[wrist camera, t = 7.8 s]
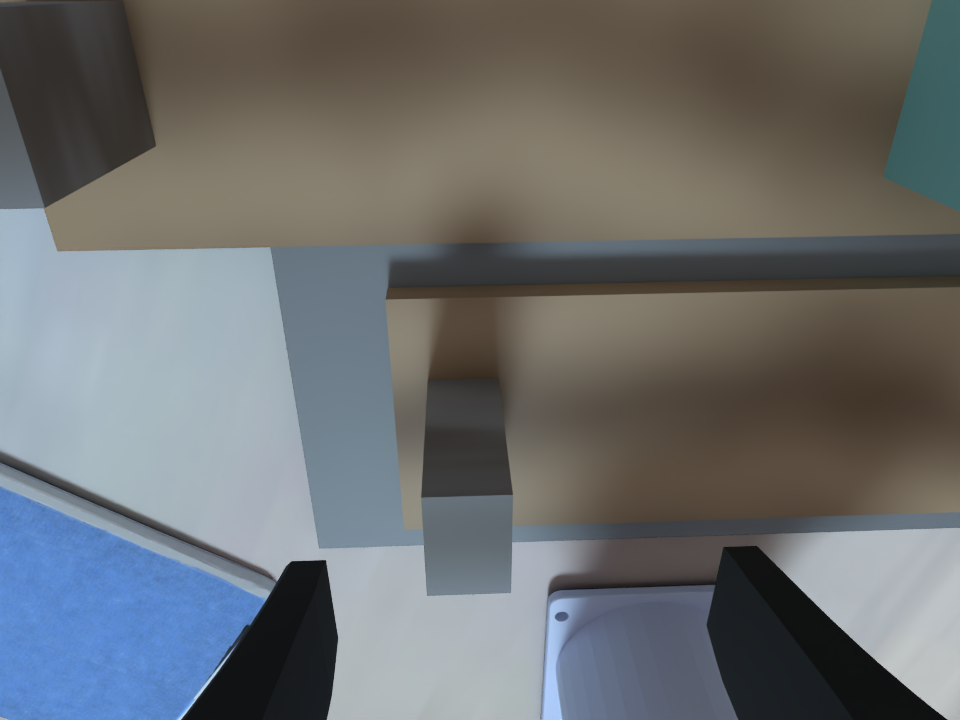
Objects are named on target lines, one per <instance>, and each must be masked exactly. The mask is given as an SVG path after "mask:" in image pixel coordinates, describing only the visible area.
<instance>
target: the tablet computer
mask: <svg viewBox="0 0 960 720" xmlns="http://www.w3.org/2000/svg"><path fill="white" fill-rule="evenodd" d="M275 585H276V582H275V581H274V580H272V579H271V578H269V577H267V576H265V575H263V574H261V573H258V572H256V571H254V570H251V569H249V568H247V567H244V566H242V565H240V564H238V563H235V562H233V561H230V560H228V559H226V558H223V557H221V556H218V555H216V554H213V553H211V552H208V551H206V550H203V549H201V548H198V547H196V546H193V545H191V544H188V543H186V542H184V541H181V540H179V539H176V538H174V537H171V536H169V535H167V534H164V533H162V532H159V531H157V530H154V529H152V528H150V527H148V526H145V525H143V524H141V523H138V522H136V521H134V520H131V519H129V518H127V517H124V516H122V515H120V514H118V513H115V512H113V511H111V510H108V509H106V508H104V507H101V506H99V505H97V504H94V503H92V502H89V501H87V500H85V499H82V498H80V497H78V496H75V495H73V494H71V493H69V492H66V491H64V490H62V489H59V488H57V487H55V486H52V485H50V484H48V483H46V482H43V481H41V480H39V479H36V478H34V477H32V476H29V475H27V474H25V473H23V472H20V471H18V470H16V469H14V468H11V467H9V466H7V465H4V464H2V463H0V717H1V718H4V719H7V720H181V719H182V718H183V716H184V715H185V714H186V713H187V711H188V710H189V709H190V707H191V706H192V705H193V704H194V702H195V701H196V700H197V698H198V697H199V696H200V694H201V693H202V692H203V690H204V689H205V688H206V687H207V685H208V684H209V683H210V681H211V680H212V679H213V677H214V676H215V675H216V673H217V672H218V671H219V669H220V668H221V667H222V665H223V664H224V662H225V661H226V659H227V658H228V657H229V655H230V654H231V652H232V651H233V649H234V648H235V646H236V645H237V644H238V642H239V641H240V639H241V638H242V636H243V635H244V633H245V632H246V631H247V629H248V628H249V626H250V625H251V623H252V621H253V620H254V618H255V617H256V615H257V614H258V612H259V611H260V609H261V608H262V606H263V604H264V603H265V601H266V600H267V598H268V596H269V595H270V593H271V591H272V590H273V588H274V586H275Z"/></svg>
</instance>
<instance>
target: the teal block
mask: <svg viewBox="0 0 960 720" xmlns="http://www.w3.org/2000/svg"><path fill="white" fill-rule="evenodd" d="M883 177H884V178H886V179H888V180H890V181H892V182H895V183H897V184H899V185H901V186H904V187H906V188H908V189H910V190H913V191H915V192H917V193H919V194H921V195H924V196H926V197H928V198H930V199H933V200H935V201H937V202H939V203H941V204H944V205H946V206H948V207H950V208H953V209H955V210H957V211H959V212H960V0H932V2H931V5H930V9H929V12H928V16H927V20H926V23H925V27H924V31H923V34H922V38H921V41H920V45H919V49H918V52H917V56H916V60H915V63H914V67H913V70H912V74H911V78H910V81H909V85H908V88H907V92H906V96H905V99H904V103H903V107H902V110H901V114H900V117H899V121H898V125H897V128H896V132H895V136H894V139H893V143H892V146H891V150H890V154H889V157H888V161H887V165H886V168H885V172H884V175H883Z"/></svg>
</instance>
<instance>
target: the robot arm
mask: <svg viewBox="0 0 960 720" xmlns="http://www.w3.org/2000/svg"><path fill="white" fill-rule="evenodd" d="M558 612H563V613H558ZM337 644H338V635H337V629H336V622H335V616H334V609H333V603H332V597H331V590H330V584H329V577H328V571H327V565H326V560H319V561H292V562H290V563H289V564H288V565H287V566H286V568H285V569H284V571H283V573H282V574H281V576H280V578H279V580H278V581H277V583H276V585H275V586H274V588H273V590H272V591H271V593H270V595H269V596H268V598H267V600H266V601H265V603H264V604H263V606H262V608H261V609H260V611H259V612H258V614H257V615H256V617H255V618H254V620H253V621H252V623H251V625H250V626H249V628H248V629H247V631H246V632H245V633H244V635H243V636H242V638H241V639H240V641H239V642H238V644H237V645H236V646H235V648H234V649H233V651H232V652H231V654H230V655H229V657H228V658H227V659H226V661H225V662H224V664H223V665H222V667H221V668H220V669H219V671H218V672H217V673H216V675H215V676H214V677H213V679H212V680H211V681H210V683H209V684H208V685H207V687H206V688H205V689H204V690H203V692H202V693H201V694H200V696H199V697H198V698H197V700H196V701H195V702H194V704H193V705H192V706H191V707H190V709H189V710H188V711H187V713H186V714H185V715H184V716H183V718H182V719H181V720H327V716H328V711H329V706H330V701H331V697H332V689H333V680H334V672H335V663H336V653H337ZM541 720H947V719H946V718H944V717H943V716H942V715H940V714H939V713H938V712H937V711H935V710H934V709H933V708H931V707H930V706H929V705H928V704H927V703H925V702H924V701H923V700H922V699H920V698H919V697H918V696H917V695H915V694H914V693H913V692H912V691H911V690H909V689H908V688H907V687H906V686H905V685H904V684H902V683H901V682H900V681H899V680H898V679H897V678H895V677H894V676H893V675H892V674H891V673H890V672H888V671H887V670H886V669H885V668H884V667H883V666H881V665H880V664H879V663H878V662H877V661H876V660H875V659H873V658H872V657H871V656H870V655H869V654H868V653H867V652H866V651H865V650H863V649H862V648H861V647H860V646H859V645H858V644H857V643H856V642H855V641H854V640H853V639H852V638H850V637H849V636H848V635H847V634H846V633H845V632H844V631H843V630H842V629H841V628H840V627H839V626H838V625H837V624H836V623H834V622H833V621H832V620H831V619H830V618H829V617H828V616H827V615H826V614H825V613H824V612H823V611H822V610H821V609H820V608H819V607H818V606H817V605H816V604H815V603H814V602H813V601H812V600H811V599H810V598H809V597H808V596H807V595H806V594H805V593H804V592H803V591H802V590H801V589H800V588H799V587H798V586H797V585H796V584H795V583H794V582H793V581H792V580H791V579H790V578H789V577H788V576H787V575H786V574H785V573H784V572H783V571H782V570H781V569H780V568H779V567H777V566H776V565H775V564H774V563H773V562H772V561H771V560H770V559H769V558H768V557H767V556H766V555H765V554H764V553H763V552H762V551H761V550H760V549H759V548H758V547H757V546H742V547H724V548H723V552H722V557H721V561H720V566H719V570H718V575H717V579H716V584H715V585H697V586H669V587H640V588H611V589H583V590H560V591H556V592H554V593H552V594H551V595H550V596H549V598H548V606H547V623H546V640H545V657H544V674H543V691H542V708H541Z"/></svg>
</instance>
